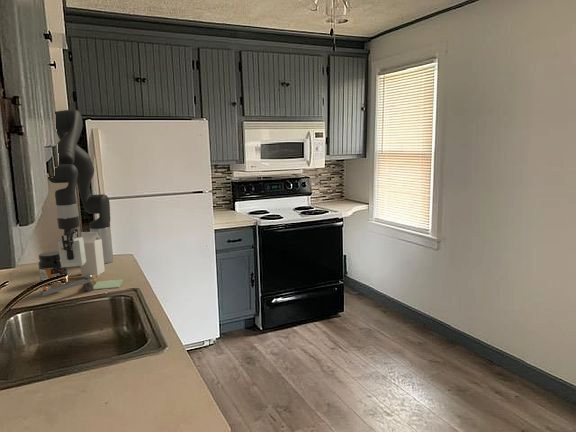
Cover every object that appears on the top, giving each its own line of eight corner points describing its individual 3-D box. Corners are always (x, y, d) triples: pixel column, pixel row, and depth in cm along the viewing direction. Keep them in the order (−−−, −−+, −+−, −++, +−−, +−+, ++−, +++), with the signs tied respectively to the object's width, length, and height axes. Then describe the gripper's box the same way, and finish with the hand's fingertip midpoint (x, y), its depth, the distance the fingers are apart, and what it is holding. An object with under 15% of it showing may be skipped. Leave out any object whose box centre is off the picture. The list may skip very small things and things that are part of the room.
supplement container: (39, 286, 174) (35, 257, 172) (41, 279, 184) (38, 252, 182) (68, 282, 179) (65, 254, 177) (69, 276, 188) (65, 249, 186)
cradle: (61, 283, 177) (60, 275, 177) (100, 280, 180) (100, 272, 180) (50, 295, 163) (49, 286, 162) (92, 291, 166) (91, 282, 166)
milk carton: (97, 276, 186) (93, 233, 183) (81, 276, 186) (76, 233, 184) (104, 271, 193) (100, 230, 190) (89, 272, 194) (85, 230, 191)
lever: (39, 294, 153) (39, 287, 152) (90, 280, 168) (89, 273, 168) (43, 296, 151) (42, 288, 151) (94, 281, 167) (93, 274, 166)
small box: (86, 262, 174) (83, 237, 172) (82, 266, 169) (79, 240, 167) (65, 263, 173) (62, 238, 171) (60, 267, 168) (57, 241, 166)
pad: (97, 282, 177) (97, 281, 177) (122, 280, 179) (122, 279, 179) (91, 290, 168) (91, 289, 168) (118, 287, 170) (118, 286, 170)
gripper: (62, 213, 174) (67, 253, 176) (51, 219, 160) (57, 263, 163) (82, 212, 175) (87, 252, 178) (73, 218, 161) (78, 261, 164)
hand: (72, 257), depth 170 cm, fingers closed on small box, 5 cm apart
